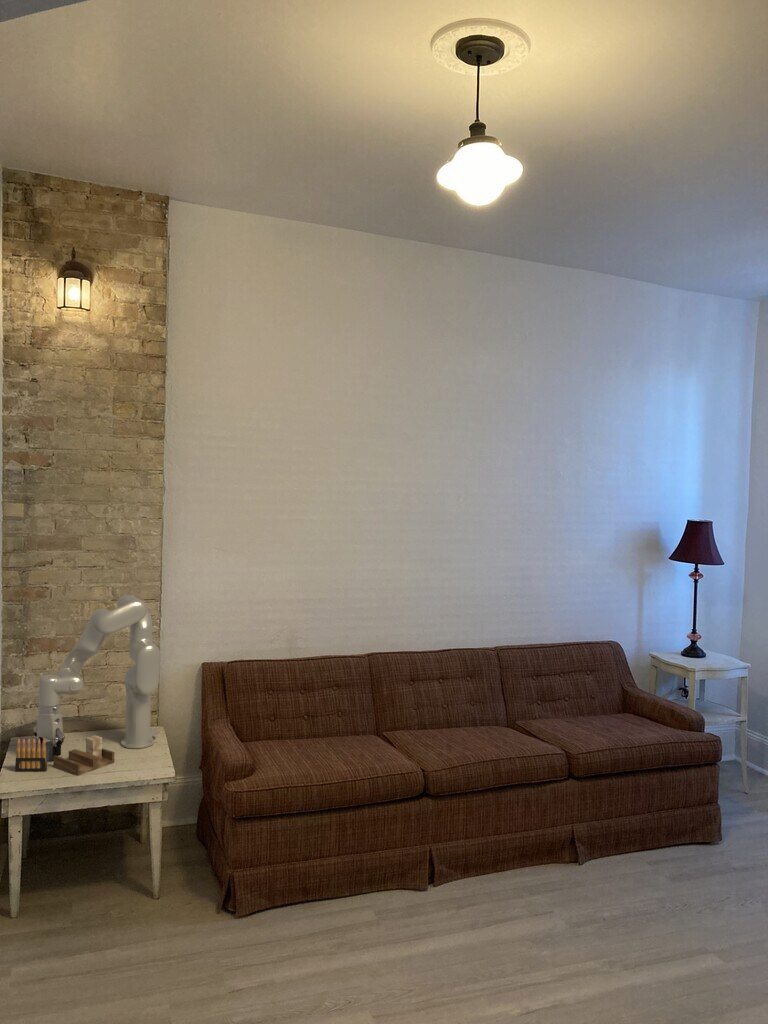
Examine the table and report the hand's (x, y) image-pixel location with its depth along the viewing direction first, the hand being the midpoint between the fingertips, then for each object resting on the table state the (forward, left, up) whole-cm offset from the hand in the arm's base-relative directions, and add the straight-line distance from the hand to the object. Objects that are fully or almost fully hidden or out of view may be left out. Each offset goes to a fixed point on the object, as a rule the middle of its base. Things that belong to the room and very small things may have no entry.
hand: (48, 753), depth 308 cm
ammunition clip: (+11, +5, -3) cm, 12 cm away
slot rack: (-4, +15, -2) cm, 16 cm away
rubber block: (0, 0, -2) cm, 2 cm away
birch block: (-9, +15, -1) cm, 17 cm away
